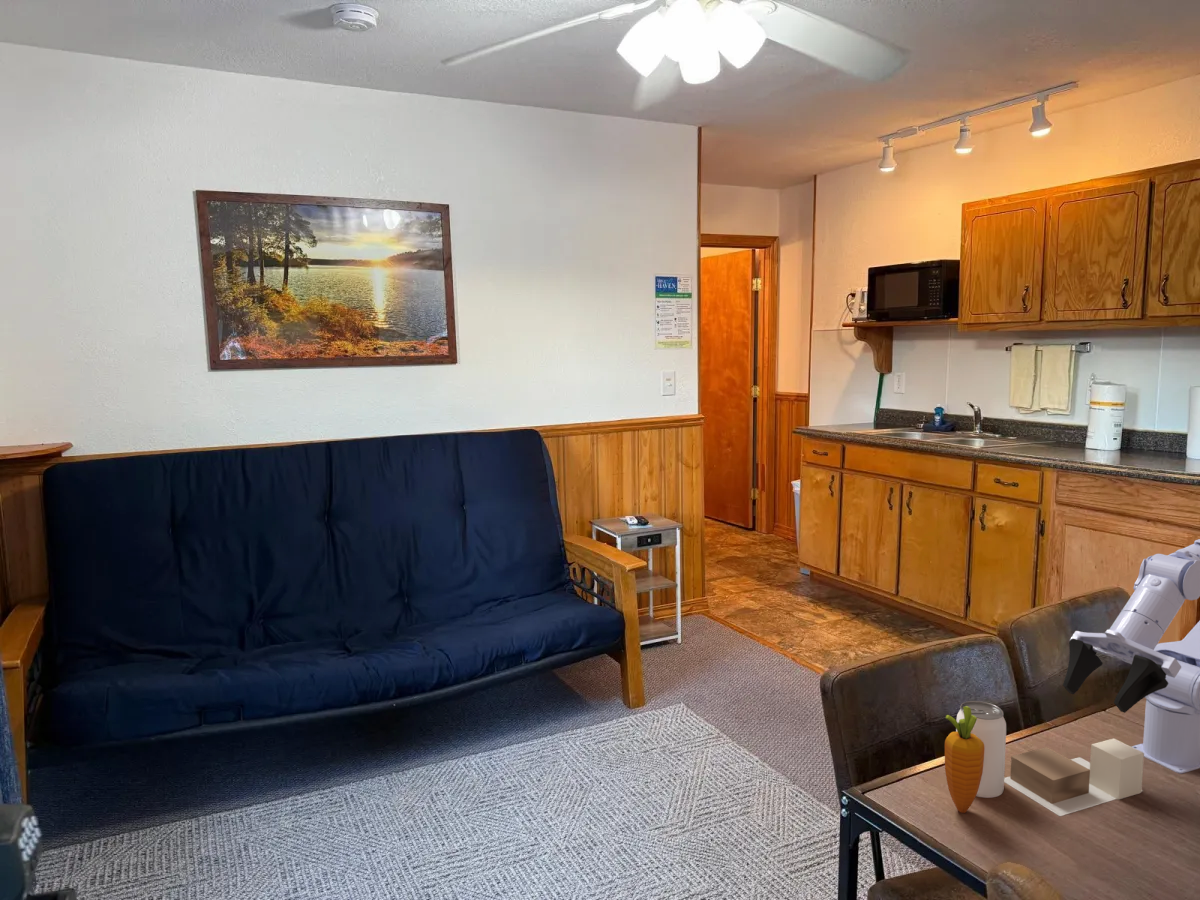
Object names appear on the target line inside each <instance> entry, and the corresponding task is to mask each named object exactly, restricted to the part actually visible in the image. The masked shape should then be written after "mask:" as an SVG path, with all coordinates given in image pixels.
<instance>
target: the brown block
mask: <svg viewBox="0 0 1200 900" xmlns="http://www.w3.org/2000/svg"><path fill="white" fill-rule="evenodd" d="M1010 758H1011V759H1010V779H1012V780H1013V781H1015V782H1017V783H1018V784H1020V785H1022V786H1023V787H1025V788H1027V789H1028V790H1030V791H1031V792H1033V793H1035V794H1036V795H1038V796H1040V797H1041V798H1043V799H1045V800H1046V801H1048V802H1050V803H1051V804H1053V803H1057V802H1060V801H1063V800H1067V799H1070V798H1074V797H1077V796H1080V795H1084V794H1087V793H1089V780H1090V770H1089V769H1087V768H1086V767H1084V766H1082V765H1080V764H1078V763H1076V762H1074V761H1072V760H1071V759H1072V758H1071V759H1070V758H1068V757H1066V756H1065V755H1063V754H1061V753H1059V752H1057V751H1056V750H1054V749H1052V748H1049V747H1048V746H1045V747H1042V748H1037V749H1035V750H1031V751H1026V752H1023V753H1019V754H1015V755H1012V756H1011V757H1010Z"/></svg>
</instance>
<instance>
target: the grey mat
mask: <svg viewBox="0 0 1200 900" xmlns="http://www.w3.org/2000/svg"><path fill="white" fill-rule="evenodd" d="M1071 760H1072V761H1074V762H1076V763H1078V764H1080V765H1082V766H1084V767H1086V768H1087V769H1089V770H1090V761H1088V760H1086V759H1084V758H1082V757H1076V758H1071ZM1010 776H1011V775H1010ZM1010 776H1007V777H1004V784H1006V785H1008V786H1010V787H1011V788H1013V789H1015V791H1018V792H1020V793H1021V794H1022V795H1024V796H1025V797H1028V798H1029V799H1031V800H1032V801H1034V802H1035V803H1037V804H1039V805H1040V806H1042V807H1044V808H1046V809H1047V810H1048V811H1050V812H1052V813H1053V814H1055V815H1056V816H1058V817H1063V816H1067V815H1069V814H1072V813H1075V812H1079V811H1082V810H1086V809H1088V808H1092V807H1096V806H1099V805H1101V804H1105V803H1108V802H1112V801H1116V800H1117V799H1116V798H1115V797H1113V796H1111V795H1109V794H1107V793H1106V792H1104V791H1102V790H1100V789H1098V788H1097V787H1095V786H1093V785H1091V784H1089V793H1087V794H1084V795H1080V796H1077V797H1074V798H1070V799H1067V800H1063V801H1060V802H1057V803H1053V804H1051V803H1050V802H1048V801H1046V800H1045V799H1043V798H1041V797H1040V796H1038V795H1036V794H1035V793H1033V792H1031V791H1030V790H1028V789H1027V788H1025V787H1023V786H1022V785H1020V784H1018V783H1017V782H1015V781H1013V780H1012V779H1010ZM1141 792H1144V790H1143V789H1142V790H1141Z"/></svg>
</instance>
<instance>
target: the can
mask: <svg viewBox="0 0 1200 900" xmlns="http://www.w3.org/2000/svg"><path fill="white" fill-rule="evenodd" d="M965 706H968V707H969V708H971V714H972V715H974V716H975V717H976V718H977V720H976V723H975V725H974V727H973V729H972V731H971V733H972V734H975V735H976V736H977V737H978V738H979V739H980V740H981V741H982V742H983V743H984V748H985V749H984V762H983V772H982V777H981V781H980V785H979V789H978V792H977V795H976V797H978V798H986V799H987V798H988V799H989V798H990V799H991V798H996V797H999V796H1001V795H1002V794H1003V792H1004V788H1005V782H1004V778H1005V773H1006V771H1005V769H1006V768H1005V767H1006V766H1005V765H1006V745H1007V744H1006V743H1007V742H1006V741H1007V722H1006V720H1005V718H1004V710H1002V709H1001V708H1000V707H999V706H997V705H995V704H993V703H989V702H986V701H981V700H980V701H979V700H970V701H965V702H963V703H961V705H960V706H959V710H958V713H957V715H956V721H957V722H959V720H960V719H964V711H963V707H965ZM955 732H957V729H956V728H955Z"/></svg>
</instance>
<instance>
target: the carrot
mask: <svg viewBox="0 0 1200 900" xmlns="http://www.w3.org/2000/svg"><path fill="white" fill-rule="evenodd" d="M963 711H964V719H960V720H959V722H957V719H956V718H954V717H952V716H951V715H949V714H946V715H945V719H946V720H948V721H949V722H950V723H951V724H952V725H953V726H954V727H955V730H956V729H957V732H956V731H951V732H950V733H948V736H946V738H945V740H944V769H945V770H944V771H945V772H944V773H945V776H946V777H945V778H946V782H947V783H946V784H947V787H948V792H949V794H950V797H951V800H952V802H953V804H954V806H955V809H956V810H957V811H958V812H959V813H962V814H965V813H967V812H968V810H969V809H970V807H971V806H972V804H973V802H974V800H975V799H976V797H977V796H976V795H977V792H978V789H979V785H980V781H981V777H982V772H983V762H984V749H985V748H984V743H983V742H982V741H981V740H980V739H979V738H978V737H977V736H976V735H975V734H972V733H971V731H972V729H973V727H974V725H975V723H976V720H977V718H976V717H975V716H974V715H972V714H971V708H969V707H968V706H965V707H963Z"/></svg>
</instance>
